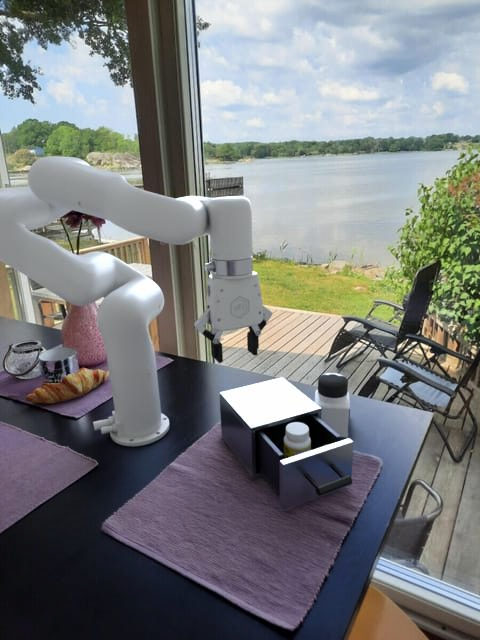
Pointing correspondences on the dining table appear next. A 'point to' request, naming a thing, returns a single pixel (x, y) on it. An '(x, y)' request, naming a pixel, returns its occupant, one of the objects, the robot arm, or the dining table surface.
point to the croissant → (68, 386)
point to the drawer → (304, 462)
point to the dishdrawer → (259, 415)
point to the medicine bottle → (334, 402)
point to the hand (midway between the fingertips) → (235, 355)
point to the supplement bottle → (296, 439)
